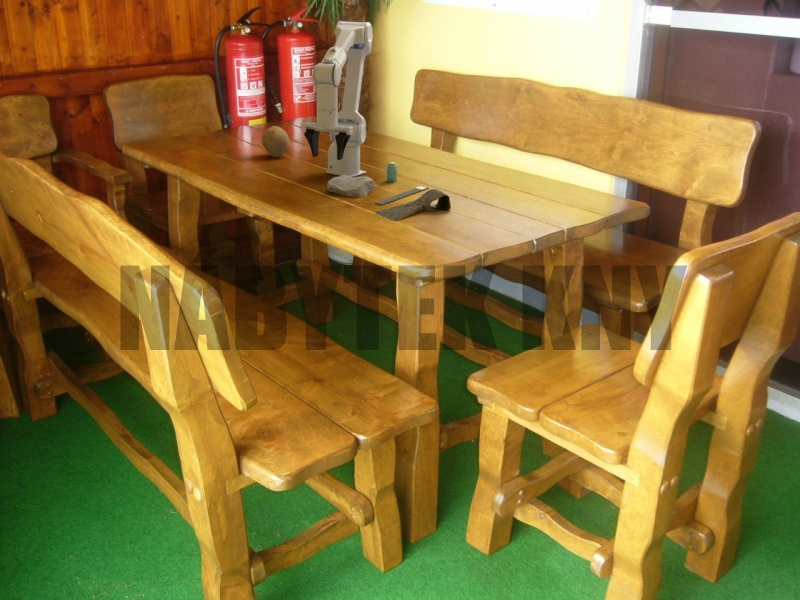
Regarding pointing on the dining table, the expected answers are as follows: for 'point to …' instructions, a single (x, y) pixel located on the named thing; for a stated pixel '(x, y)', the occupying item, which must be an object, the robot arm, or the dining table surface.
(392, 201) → the bar
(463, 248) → the dining table surface
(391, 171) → the teal cylinder cream end
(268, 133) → the brown oval lump
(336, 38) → the robot arm
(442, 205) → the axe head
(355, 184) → the stone block
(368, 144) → the dining table surface
